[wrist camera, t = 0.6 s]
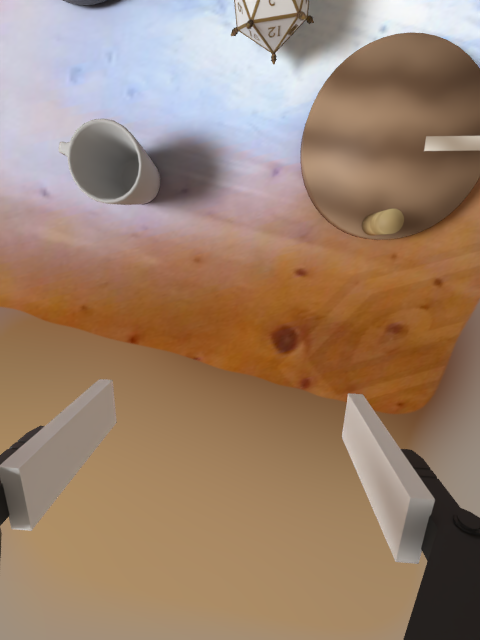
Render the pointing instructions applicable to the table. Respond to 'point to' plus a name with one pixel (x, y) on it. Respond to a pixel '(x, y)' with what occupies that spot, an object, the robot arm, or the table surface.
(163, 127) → the table surface
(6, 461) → the robot arm
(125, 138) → the cup
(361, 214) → the turntable
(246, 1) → the game die
